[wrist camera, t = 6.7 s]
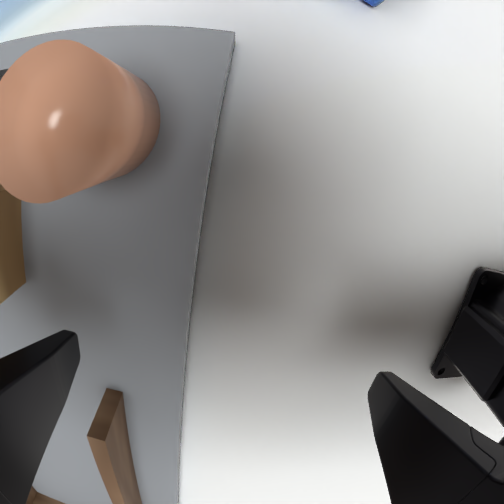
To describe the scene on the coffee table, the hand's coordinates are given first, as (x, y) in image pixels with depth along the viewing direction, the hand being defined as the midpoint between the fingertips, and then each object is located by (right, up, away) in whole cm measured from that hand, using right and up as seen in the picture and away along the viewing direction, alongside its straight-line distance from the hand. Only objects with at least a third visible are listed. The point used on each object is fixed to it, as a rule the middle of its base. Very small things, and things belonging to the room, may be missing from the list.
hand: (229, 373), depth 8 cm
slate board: (-12, -5, +6) cm, 14 cm away
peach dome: (-4, +7, +1) cm, 8 cm away
